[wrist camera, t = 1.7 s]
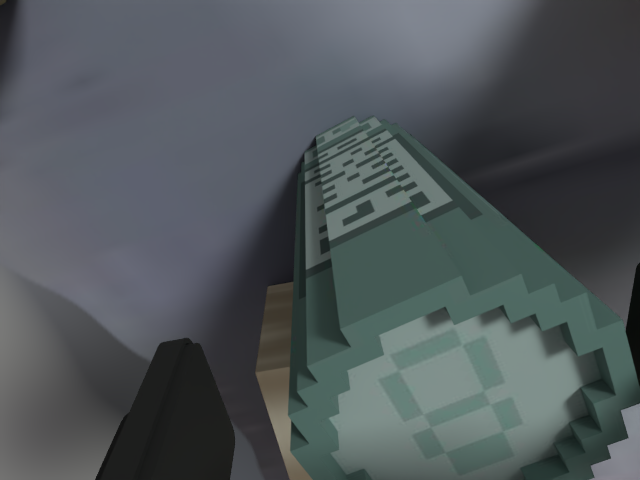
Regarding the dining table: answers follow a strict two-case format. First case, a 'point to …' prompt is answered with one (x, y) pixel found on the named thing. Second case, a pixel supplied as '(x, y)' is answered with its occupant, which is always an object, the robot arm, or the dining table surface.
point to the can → (438, 328)
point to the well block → (278, 369)
